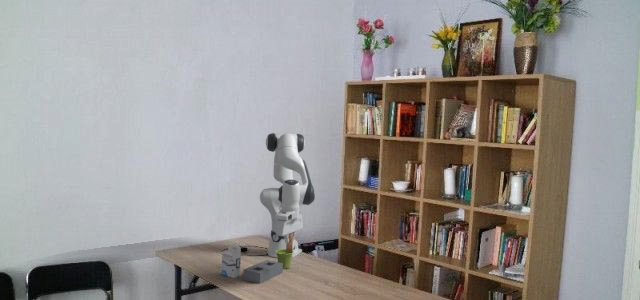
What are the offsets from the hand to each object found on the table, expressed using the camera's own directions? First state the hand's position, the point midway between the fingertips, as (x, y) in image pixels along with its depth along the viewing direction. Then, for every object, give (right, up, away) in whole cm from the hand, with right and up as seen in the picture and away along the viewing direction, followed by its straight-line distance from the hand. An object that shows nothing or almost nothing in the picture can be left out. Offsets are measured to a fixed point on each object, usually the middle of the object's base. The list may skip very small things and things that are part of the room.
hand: (289, 241), depth 230 cm
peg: (0, -4, 0) cm, 4 cm away
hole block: (-13, -18, +6) cm, 23 cm away
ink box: (-29, -18, +5) cm, 35 cm away
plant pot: (-4, -18, +21) cm, 28 cm away
